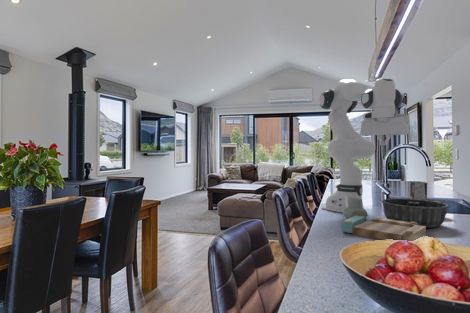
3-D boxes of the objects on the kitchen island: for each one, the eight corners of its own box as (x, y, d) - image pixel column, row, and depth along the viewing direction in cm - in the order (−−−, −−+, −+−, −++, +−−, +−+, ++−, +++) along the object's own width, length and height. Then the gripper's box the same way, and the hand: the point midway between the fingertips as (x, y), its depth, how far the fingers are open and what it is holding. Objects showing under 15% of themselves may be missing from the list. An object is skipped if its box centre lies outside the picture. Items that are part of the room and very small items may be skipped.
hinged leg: (352, 233, 135) (352, 221, 135) (341, 231, 137) (341, 220, 137) (366, 225, 149) (366, 214, 149) (356, 224, 152) (356, 213, 152)
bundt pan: (412, 217, 171) (413, 196, 171) (463, 228, 146) (463, 205, 146) (368, 220, 162) (369, 199, 162) (414, 233, 137) (415, 208, 137)
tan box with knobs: (352, 234, 135) (352, 223, 135) (372, 226, 150) (372, 215, 150) (413, 245, 120) (413, 232, 120) (428, 234, 135) (428, 223, 135)
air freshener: (347, 221, 159) (347, 200, 158) (340, 218, 167) (340, 197, 167) (370, 221, 159) (370, 200, 159) (362, 218, 167) (362, 197, 167)
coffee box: (427, 214, 178) (427, 182, 178) (413, 213, 179) (414, 182, 179) (421, 211, 187) (421, 181, 187) (408, 210, 188) (408, 181, 188)
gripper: (411, 113, 151) (410, 145, 151) (364, 116, 164) (364, 145, 165) (407, 112, 146) (406, 145, 146) (359, 115, 160) (359, 145, 160)
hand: (383, 145), depth 156 cm, fingers closed
